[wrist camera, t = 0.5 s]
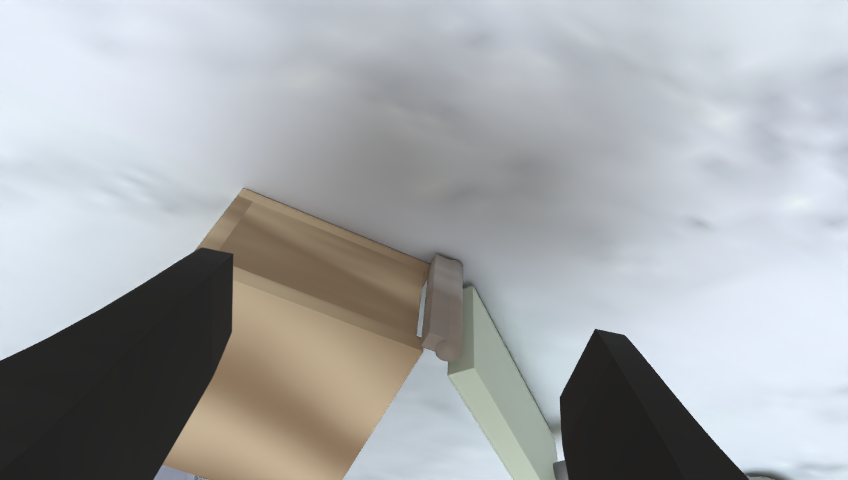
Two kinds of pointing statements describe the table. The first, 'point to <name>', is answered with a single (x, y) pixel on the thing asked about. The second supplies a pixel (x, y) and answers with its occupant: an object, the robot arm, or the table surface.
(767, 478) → the ceramic mug
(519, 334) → the table surface
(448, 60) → the table surface
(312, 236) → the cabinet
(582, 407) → the robot arm
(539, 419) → the door
